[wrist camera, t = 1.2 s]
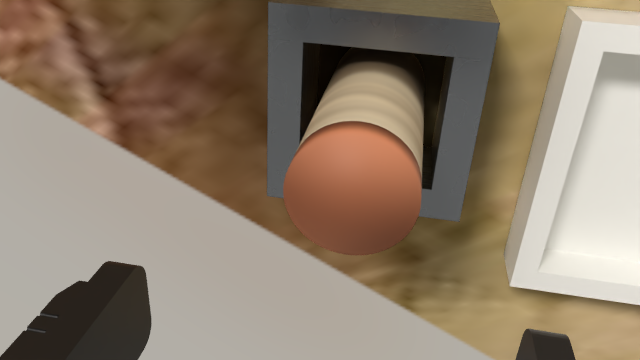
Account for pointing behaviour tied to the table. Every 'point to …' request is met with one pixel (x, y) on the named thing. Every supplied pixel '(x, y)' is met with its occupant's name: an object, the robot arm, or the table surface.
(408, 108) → the pin
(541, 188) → the tray
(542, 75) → the table surface
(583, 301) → the table surface
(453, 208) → the socket block
